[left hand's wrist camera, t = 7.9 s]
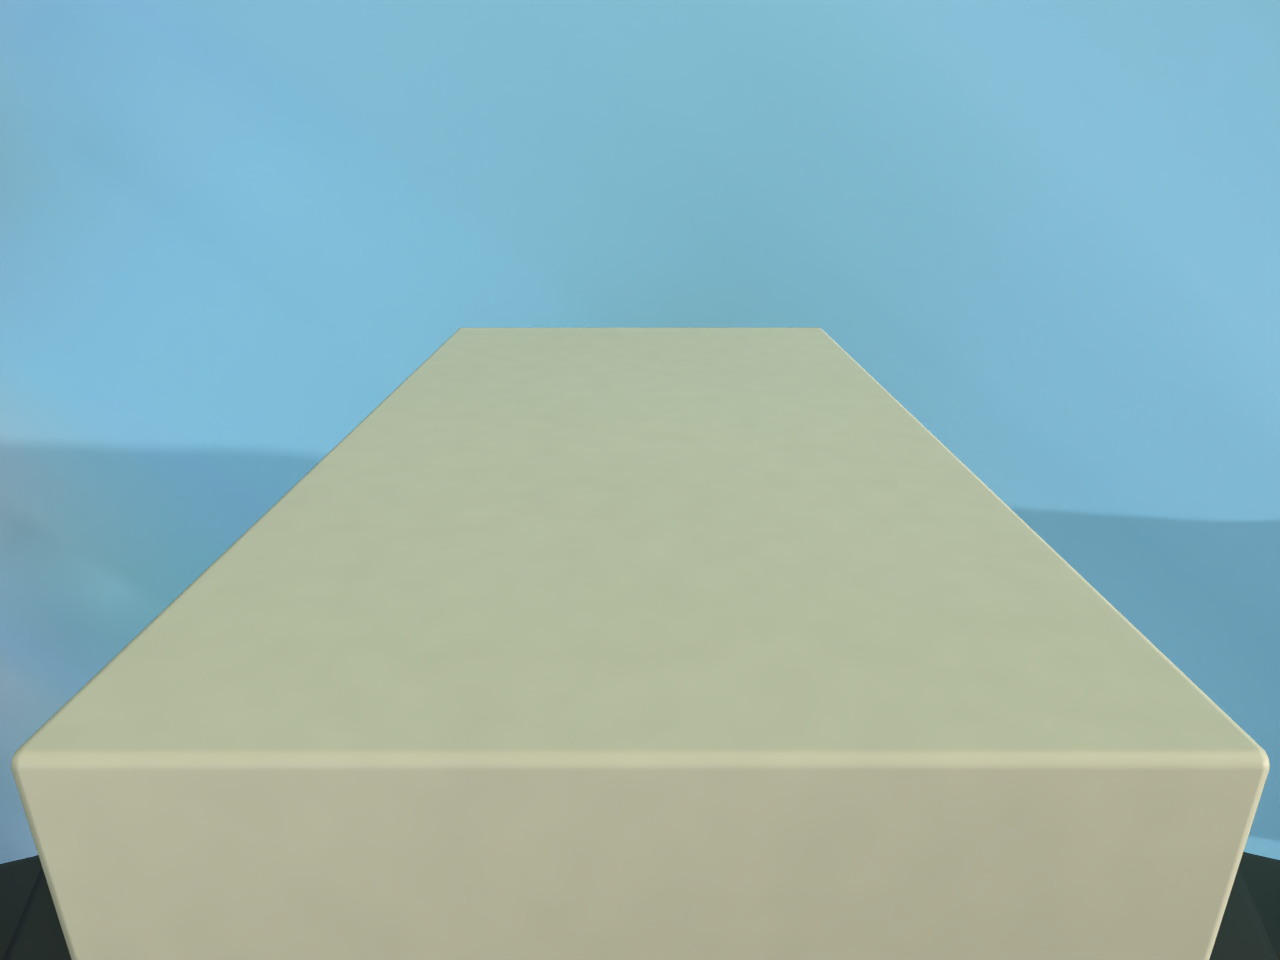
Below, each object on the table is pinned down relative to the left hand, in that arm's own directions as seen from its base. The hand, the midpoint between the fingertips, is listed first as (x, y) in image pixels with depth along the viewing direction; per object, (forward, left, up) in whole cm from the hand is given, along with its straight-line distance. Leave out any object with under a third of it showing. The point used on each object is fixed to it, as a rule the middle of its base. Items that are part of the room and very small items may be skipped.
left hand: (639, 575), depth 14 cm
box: (+8, +4, -2) cm, 9 cm away
